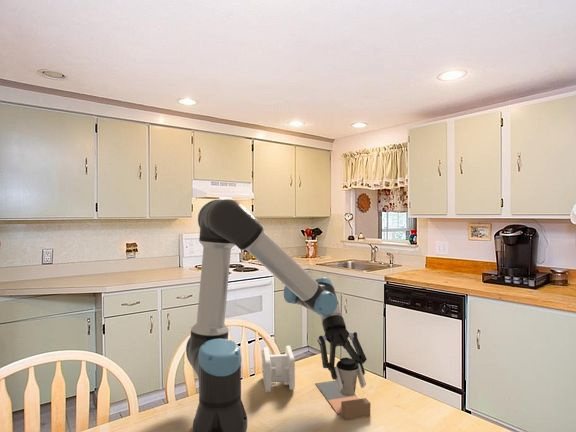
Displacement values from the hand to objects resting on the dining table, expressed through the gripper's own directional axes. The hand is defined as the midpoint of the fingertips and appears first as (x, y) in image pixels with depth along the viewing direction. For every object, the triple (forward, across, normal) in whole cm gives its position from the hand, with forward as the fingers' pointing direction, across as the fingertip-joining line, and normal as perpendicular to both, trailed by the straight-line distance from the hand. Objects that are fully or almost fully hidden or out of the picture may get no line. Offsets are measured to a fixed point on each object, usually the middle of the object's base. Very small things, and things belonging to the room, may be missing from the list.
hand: (352, 387), depth 114 cm
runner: (0, 0, -11) cm, 11 cm away
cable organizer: (-11, +18, -21) cm, 30 cm away
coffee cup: (0, 0, -5) cm, 5 cm away
